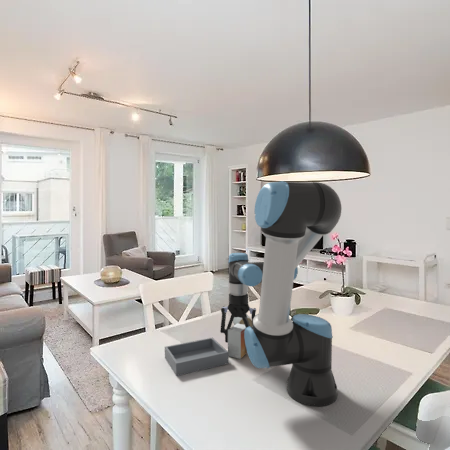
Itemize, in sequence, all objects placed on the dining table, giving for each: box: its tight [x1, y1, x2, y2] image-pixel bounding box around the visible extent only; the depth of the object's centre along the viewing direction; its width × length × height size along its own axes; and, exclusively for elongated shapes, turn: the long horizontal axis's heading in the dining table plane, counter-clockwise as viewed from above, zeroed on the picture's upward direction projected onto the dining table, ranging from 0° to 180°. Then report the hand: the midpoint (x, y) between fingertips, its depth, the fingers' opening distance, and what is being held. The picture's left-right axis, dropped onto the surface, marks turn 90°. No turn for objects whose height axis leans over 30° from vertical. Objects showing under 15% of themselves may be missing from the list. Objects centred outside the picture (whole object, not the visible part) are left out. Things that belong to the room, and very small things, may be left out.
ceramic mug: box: [232, 314, 252, 327], centre depth 152 cm, size 11×8×8 cm
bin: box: [164, 337, 230, 376], centre depth 121 cm, size 15×20×4 cm
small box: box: [227, 323, 248, 360], centre depth 127 cm, size 8×6×10 cm
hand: (238, 351), depth 127 cm, fingers closed on small box, 7 cm apart
